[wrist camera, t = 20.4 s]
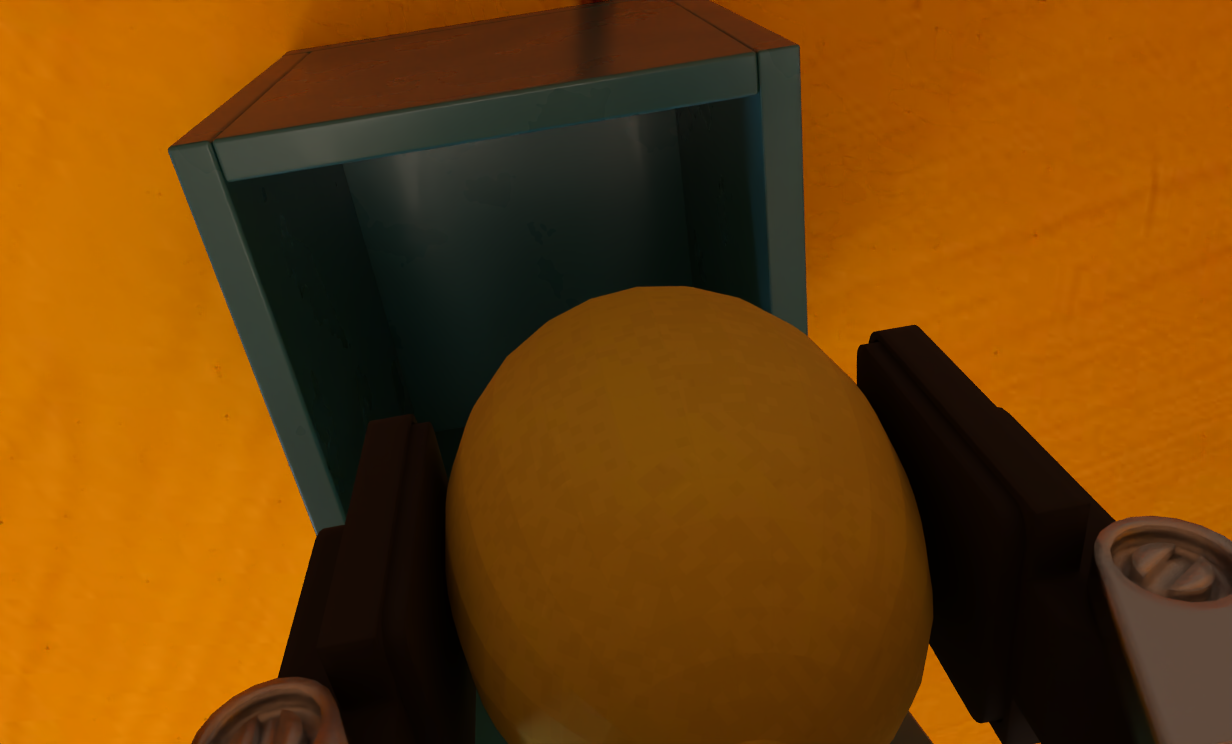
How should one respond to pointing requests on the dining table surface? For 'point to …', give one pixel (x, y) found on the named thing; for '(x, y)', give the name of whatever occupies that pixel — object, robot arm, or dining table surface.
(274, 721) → the robot arm
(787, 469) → the lemon
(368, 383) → the teal box
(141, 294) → the dining table surface
